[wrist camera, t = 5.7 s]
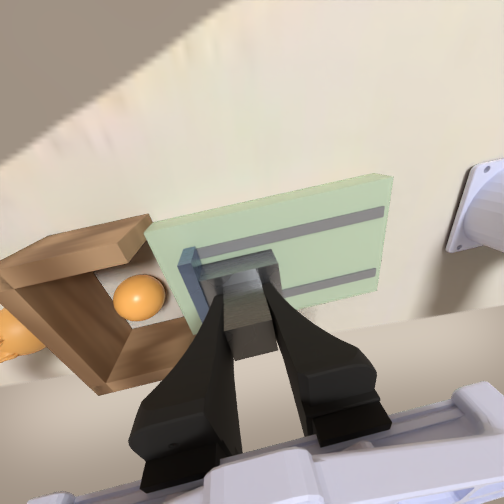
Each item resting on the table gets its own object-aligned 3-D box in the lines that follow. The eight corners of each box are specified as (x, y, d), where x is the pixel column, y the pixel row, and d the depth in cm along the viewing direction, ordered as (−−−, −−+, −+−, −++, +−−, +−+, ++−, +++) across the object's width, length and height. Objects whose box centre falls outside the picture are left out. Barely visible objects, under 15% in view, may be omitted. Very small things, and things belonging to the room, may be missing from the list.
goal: (148, 213, 14) (116, 243, 10) (197, 323, 20) (191, 372, 16) (47, 235, 14) (-30, 275, 10) (125, 340, 20) (98, 395, 15)
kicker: (268, 229, 14) (293, 275, 9) (280, 305, 17) (303, 369, 12) (183, 248, 13) (162, 306, 9) (212, 321, 17) (209, 392, 12)
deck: (373, 173, 15) (395, 177, 13) (363, 278, 20) (378, 292, 18) (152, 222, 15) (142, 234, 13) (195, 318, 20) (193, 336, 18)
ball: (131, 265, 17) (164, 266, 16) (149, 296, 19) (180, 300, 17) (91, 293, 14) (127, 298, 13) (117, 327, 16) (150, 334, 14)
